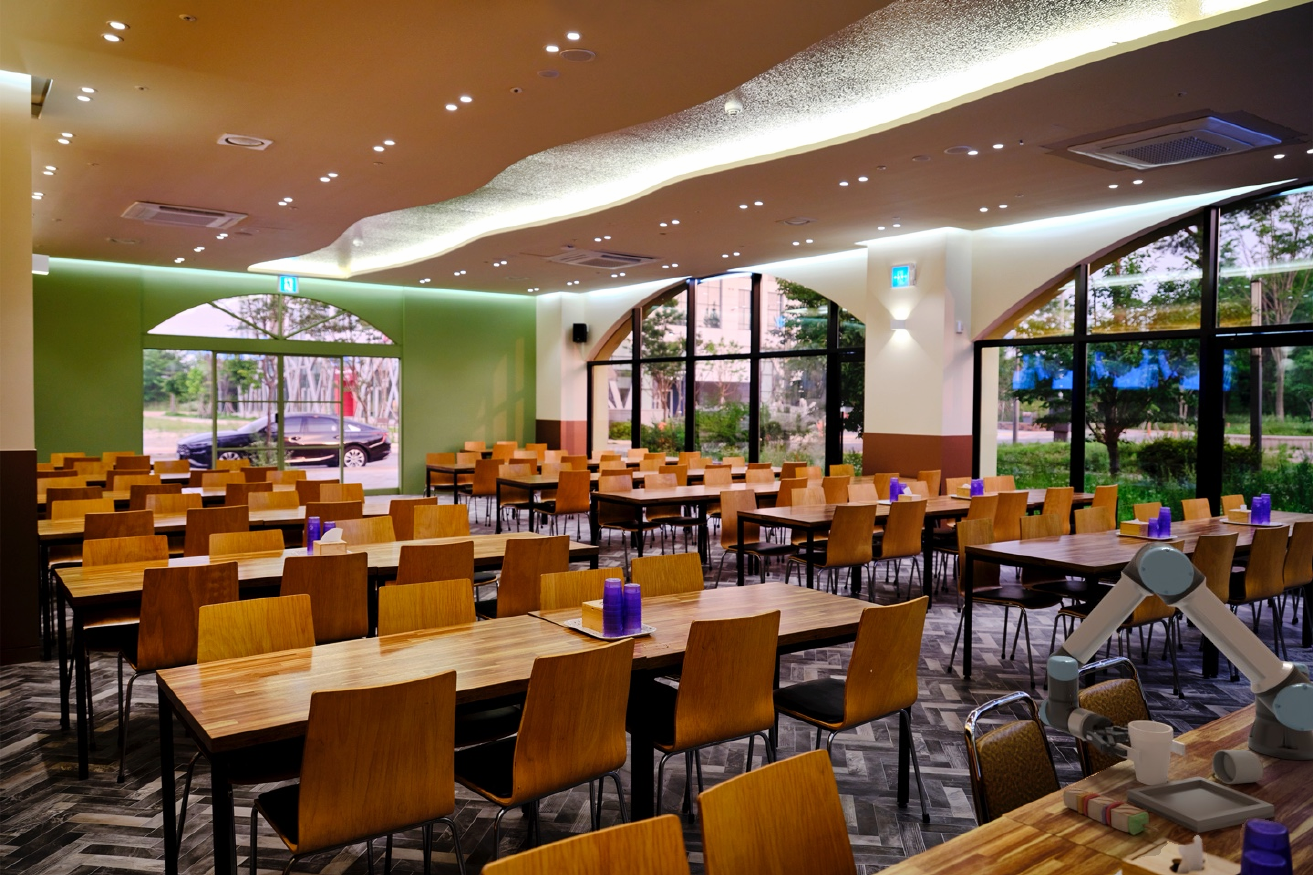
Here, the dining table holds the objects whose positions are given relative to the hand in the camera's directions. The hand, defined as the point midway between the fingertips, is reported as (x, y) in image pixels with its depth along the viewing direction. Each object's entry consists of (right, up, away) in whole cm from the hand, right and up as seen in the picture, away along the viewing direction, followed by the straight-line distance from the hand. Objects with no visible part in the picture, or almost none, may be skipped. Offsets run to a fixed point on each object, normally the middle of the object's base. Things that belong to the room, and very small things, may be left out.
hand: (1162, 753), depth 213 cm
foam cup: (-1, -8, +3) cm, 8 cm away
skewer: (-22, -8, -20) cm, 31 cm away
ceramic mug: (+19, -7, +3) cm, 20 cm away
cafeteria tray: (+1, -7, -13) cm, 15 cm away
